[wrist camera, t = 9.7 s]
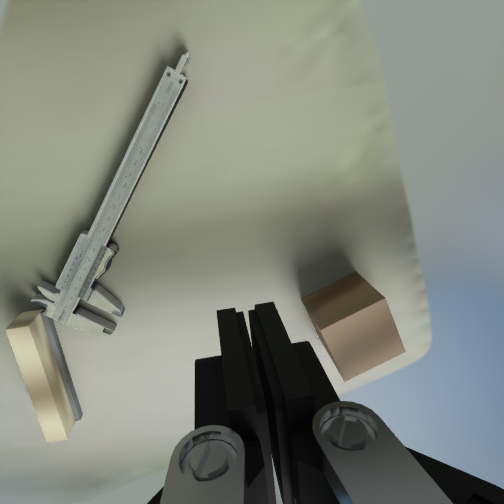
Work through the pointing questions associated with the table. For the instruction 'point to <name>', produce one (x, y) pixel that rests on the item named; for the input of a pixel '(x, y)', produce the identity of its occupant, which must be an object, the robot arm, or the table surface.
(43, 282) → the caliper
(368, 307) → the walnut block
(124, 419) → the table surface
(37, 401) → the rail
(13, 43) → the table surface
